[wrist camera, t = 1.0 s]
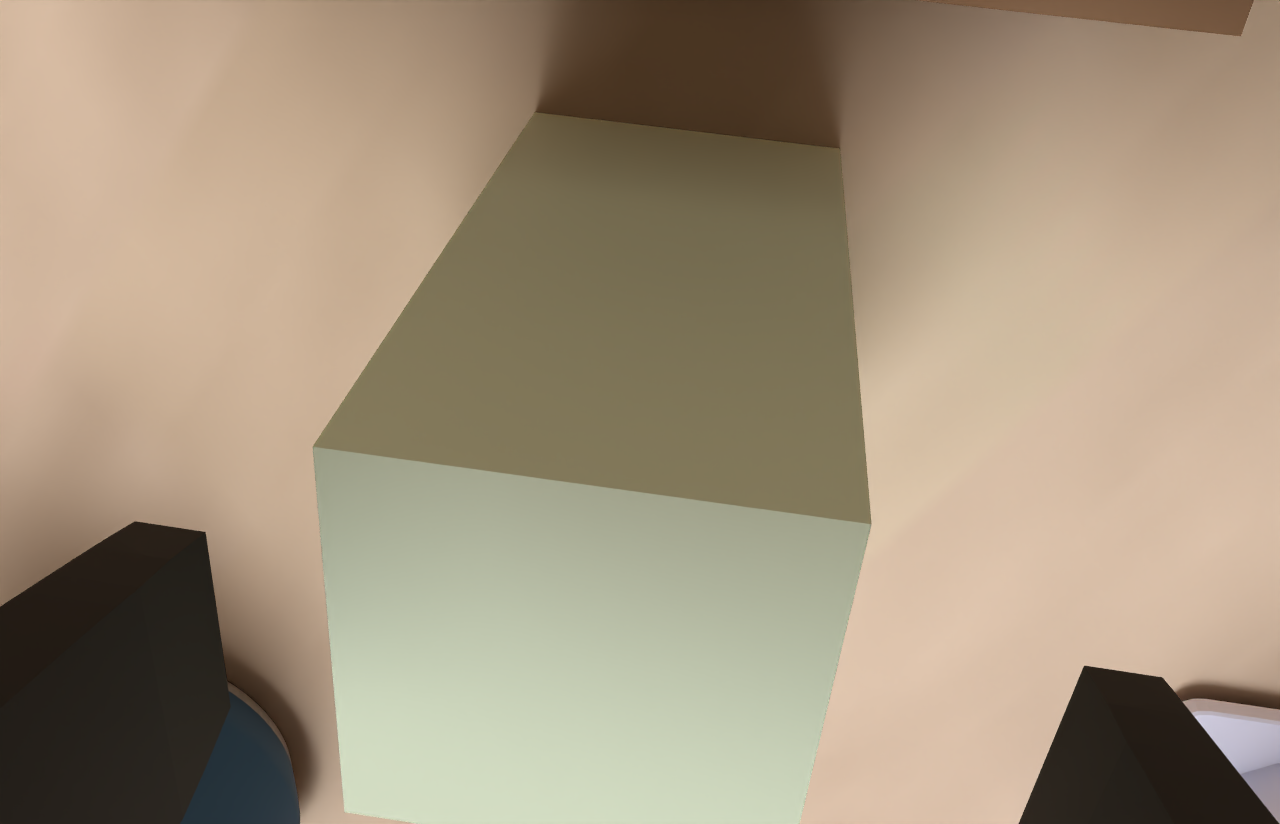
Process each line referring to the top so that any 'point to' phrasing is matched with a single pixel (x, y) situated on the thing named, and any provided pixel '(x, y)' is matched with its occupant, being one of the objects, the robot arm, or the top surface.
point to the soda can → (246, 772)
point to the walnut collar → (1135, 12)
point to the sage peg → (603, 492)
